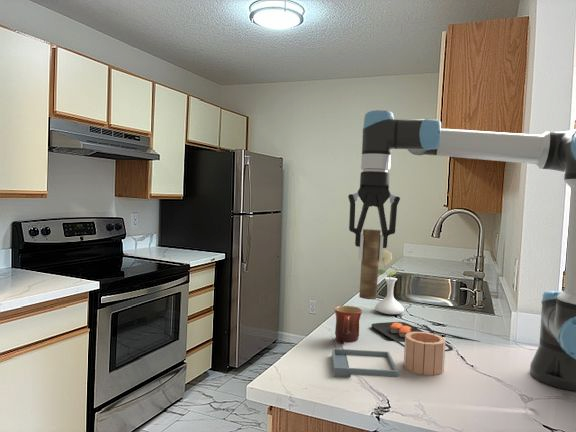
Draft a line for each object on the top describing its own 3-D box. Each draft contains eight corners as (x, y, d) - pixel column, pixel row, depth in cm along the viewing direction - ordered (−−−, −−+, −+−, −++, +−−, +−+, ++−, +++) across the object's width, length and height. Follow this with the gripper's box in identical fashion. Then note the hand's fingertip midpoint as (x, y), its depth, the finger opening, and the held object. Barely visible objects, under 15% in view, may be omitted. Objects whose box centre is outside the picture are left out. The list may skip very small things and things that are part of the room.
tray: (388, 359, 125) (388, 351, 125) (397, 380, 111) (398, 371, 111) (331, 356, 126) (332, 348, 126) (334, 376, 112) (334, 367, 112)
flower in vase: (403, 310, 180) (406, 249, 178) (404, 318, 168) (407, 253, 167) (371, 307, 183) (373, 247, 181) (369, 314, 171) (372, 250, 170)
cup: (437, 364, 122) (438, 332, 122) (448, 379, 112) (450, 345, 112) (400, 362, 123) (402, 330, 122) (408, 377, 113) (410, 343, 112)
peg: (375, 295, 120) (379, 229, 119) (377, 299, 115) (381, 231, 114) (358, 294, 120) (362, 228, 119) (360, 298, 116) (364, 230, 115)
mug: (334, 335, 144) (335, 304, 144) (361, 338, 143) (362, 307, 142) (330, 347, 133) (331, 314, 132) (359, 351, 131) (361, 317, 130)
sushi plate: (367, 328, 155) (368, 318, 155) (440, 324, 164) (440, 313, 164) (415, 359, 128) (416, 346, 127) (499, 351, 137) (499, 339, 137)
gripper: (406, 173, 119) (400, 259, 120) (340, 170, 120) (336, 255, 121) (412, 172, 112) (406, 263, 113) (342, 169, 113) (337, 259, 114)
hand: (370, 259), depth 117 cm, fingers closed on peg, 4 cm apart
